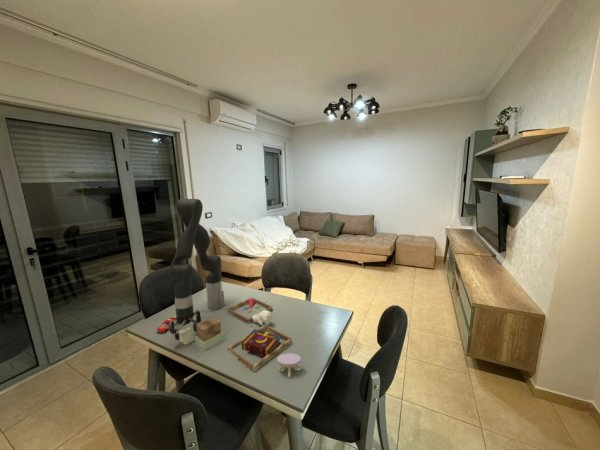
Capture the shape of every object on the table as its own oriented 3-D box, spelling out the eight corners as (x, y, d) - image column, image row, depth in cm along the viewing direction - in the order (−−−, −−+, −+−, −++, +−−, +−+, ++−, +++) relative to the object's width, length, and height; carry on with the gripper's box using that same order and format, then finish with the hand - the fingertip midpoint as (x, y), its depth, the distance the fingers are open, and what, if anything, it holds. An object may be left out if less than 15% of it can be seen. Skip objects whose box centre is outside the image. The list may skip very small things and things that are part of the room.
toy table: (274, 377, 98) (274, 364, 97) (280, 361, 107) (280, 349, 106) (298, 380, 97) (298, 367, 96) (302, 363, 105) (302, 352, 104)
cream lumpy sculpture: (266, 314, 128) (248, 311, 133) (268, 329, 129) (250, 326, 135) (272, 309, 134) (255, 306, 139) (274, 323, 135) (256, 320, 140)
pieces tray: (251, 300, 161) (251, 297, 161) (272, 310, 149) (272, 306, 148) (227, 312, 147) (227, 308, 147) (248, 324, 135) (248, 320, 134)
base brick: (214, 334, 124) (214, 327, 123) (223, 340, 119) (223, 333, 118) (195, 344, 117) (195, 336, 116) (204, 351, 112) (203, 343, 111)
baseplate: (214, 333, 126) (214, 331, 126) (227, 343, 119) (227, 341, 119) (191, 345, 117) (191, 343, 117) (204, 356, 110) (204, 354, 110)
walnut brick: (214, 328, 122) (213, 317, 121) (220, 332, 119) (220, 321, 118) (197, 337, 116) (196, 325, 114) (203, 342, 112) (202, 330, 111)
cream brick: (190, 337, 123) (189, 327, 122) (195, 341, 120) (194, 330, 119) (180, 342, 119) (179, 331, 118) (185, 347, 116) (184, 335, 115)
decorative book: (269, 359, 107) (269, 349, 106) (239, 350, 113) (238, 340, 112) (281, 344, 118) (281, 334, 117) (252, 336, 124) (252, 327, 123)
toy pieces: (239, 307, 154) (239, 300, 153) (256, 302, 160) (255, 296, 159) (245, 315, 144) (245, 308, 143) (263, 310, 150) (263, 303, 149)
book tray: (265, 328, 130) (265, 324, 130) (291, 343, 119) (291, 338, 118) (227, 352, 112) (227, 347, 112) (254, 372, 101) (253, 366, 100)
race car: (163, 335, 126) (162, 328, 125) (154, 333, 127) (153, 326, 127) (181, 321, 138) (181, 314, 138) (173, 320, 140) (173, 313, 139)
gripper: (172, 312, 108) (175, 345, 111) (202, 301, 119) (204, 331, 122) (165, 307, 113) (168, 339, 116) (194, 296, 124) (196, 326, 126)
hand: (186, 335), depth 119 cm, fingers open, 8 cm apart
